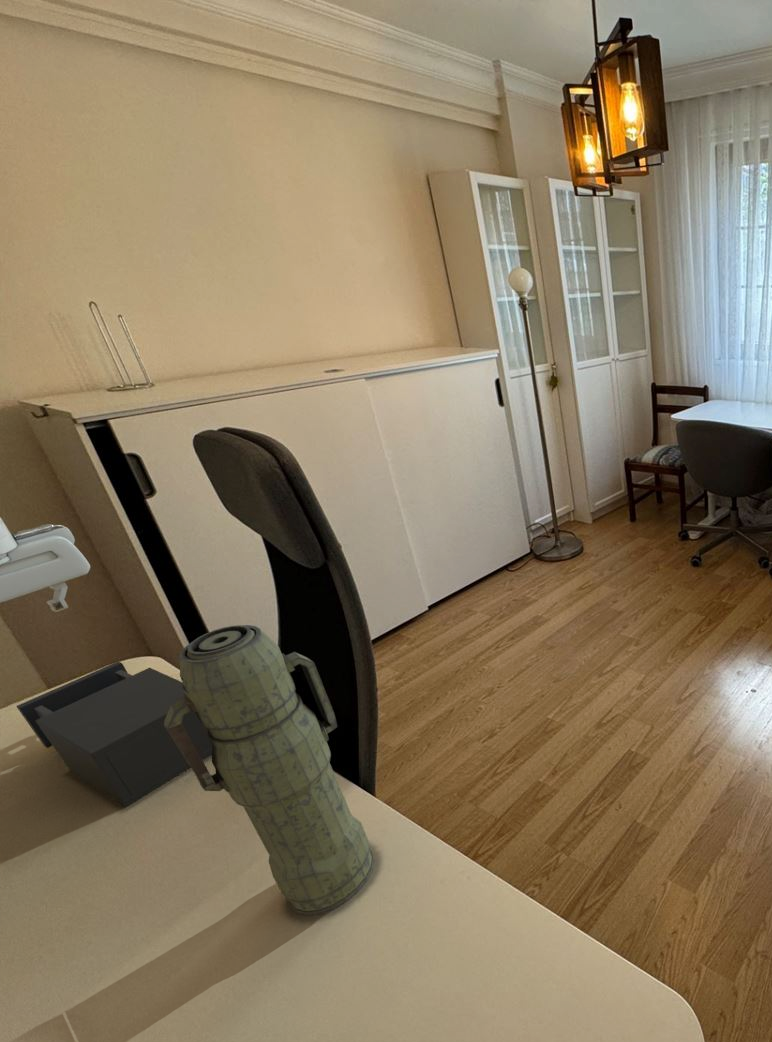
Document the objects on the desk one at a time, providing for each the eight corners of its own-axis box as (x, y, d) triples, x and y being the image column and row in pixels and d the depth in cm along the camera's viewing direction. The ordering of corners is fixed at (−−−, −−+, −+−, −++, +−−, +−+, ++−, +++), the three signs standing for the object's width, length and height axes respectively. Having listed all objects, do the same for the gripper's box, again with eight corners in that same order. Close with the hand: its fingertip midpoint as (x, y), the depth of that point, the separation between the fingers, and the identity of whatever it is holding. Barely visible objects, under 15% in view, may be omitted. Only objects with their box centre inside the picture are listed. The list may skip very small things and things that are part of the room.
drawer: (31, 737, 88) (3, 698, 84) (126, 692, 98) (105, 655, 94) (90, 775, 81) (62, 733, 77) (187, 721, 91) (166, 682, 87)
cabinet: (70, 771, 83) (34, 720, 79) (176, 715, 94) (149, 667, 89) (126, 807, 77) (90, 753, 73) (231, 742, 88) (206, 692, 83)
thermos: (259, 902, 65) (118, 658, 50) (362, 825, 74) (268, 599, 59) (296, 944, 60) (153, 691, 46) (400, 857, 69) (310, 622, 55)
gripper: (54, 517, 91) (97, 589, 97) (-158, 572, 74) (-92, 656, 80) (73, 522, 89) (115, 596, 94) (-143, 580, 72) (-75, 666, 77)
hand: (19, 624), depth 87 cm, fingers open, 8 cm apart
